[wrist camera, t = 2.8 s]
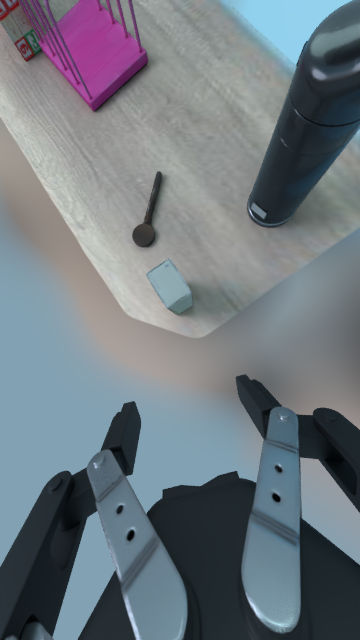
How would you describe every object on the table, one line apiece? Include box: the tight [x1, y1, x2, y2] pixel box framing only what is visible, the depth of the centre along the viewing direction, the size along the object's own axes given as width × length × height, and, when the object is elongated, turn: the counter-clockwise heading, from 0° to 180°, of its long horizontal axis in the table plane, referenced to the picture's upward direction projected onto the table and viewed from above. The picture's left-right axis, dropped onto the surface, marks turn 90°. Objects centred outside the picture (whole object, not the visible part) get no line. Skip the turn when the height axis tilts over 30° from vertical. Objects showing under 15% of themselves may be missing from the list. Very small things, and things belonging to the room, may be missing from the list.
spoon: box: [132, 171, 162, 247], centre depth 38 cm, size 17×5×1 cm, turn 166°
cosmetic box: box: [146, 259, 193, 315], centre depth 30 cm, size 6×4×12 cm
